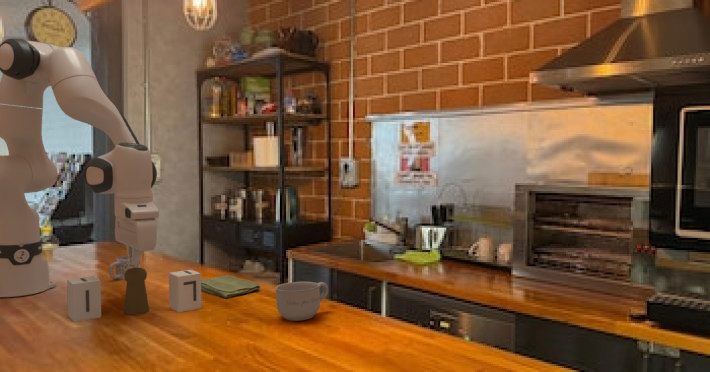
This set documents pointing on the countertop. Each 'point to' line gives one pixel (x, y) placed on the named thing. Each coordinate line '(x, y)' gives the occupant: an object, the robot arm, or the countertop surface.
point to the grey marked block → (84, 298)
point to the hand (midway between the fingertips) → (134, 263)
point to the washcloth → (228, 286)
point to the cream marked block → (185, 290)
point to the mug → (121, 267)
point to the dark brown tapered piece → (136, 292)
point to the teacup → (299, 299)
